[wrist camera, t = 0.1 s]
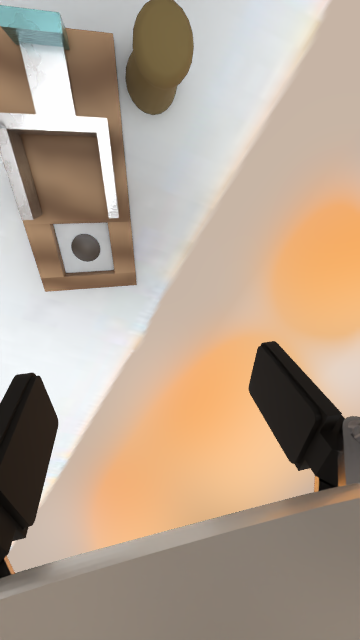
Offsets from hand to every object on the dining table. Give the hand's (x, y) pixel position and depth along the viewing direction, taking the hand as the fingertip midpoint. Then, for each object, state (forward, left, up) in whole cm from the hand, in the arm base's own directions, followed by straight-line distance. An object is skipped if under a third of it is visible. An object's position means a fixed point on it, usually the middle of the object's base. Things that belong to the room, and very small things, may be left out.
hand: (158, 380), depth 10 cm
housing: (-11, -7, -29) cm, 32 cm away
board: (-6, -7, -31) cm, 32 cm away
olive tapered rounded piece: (-17, +4, -31) cm, 36 cm away
